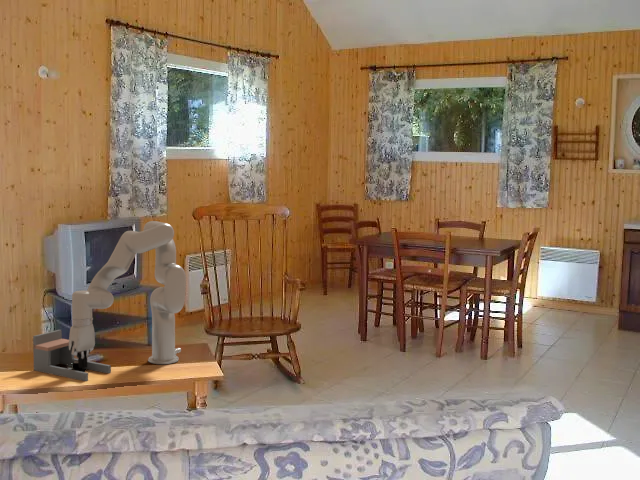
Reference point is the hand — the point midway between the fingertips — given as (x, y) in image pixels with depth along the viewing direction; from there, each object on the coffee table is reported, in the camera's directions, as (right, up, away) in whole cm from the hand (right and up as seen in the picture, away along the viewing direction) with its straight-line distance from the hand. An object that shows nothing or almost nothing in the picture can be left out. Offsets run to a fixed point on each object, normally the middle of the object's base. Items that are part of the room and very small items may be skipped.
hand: (82, 367), depth 295 cm
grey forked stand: (-5, -2, +3) cm, 6 cm away
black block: (-3, -3, +3) cm, 5 cm away
